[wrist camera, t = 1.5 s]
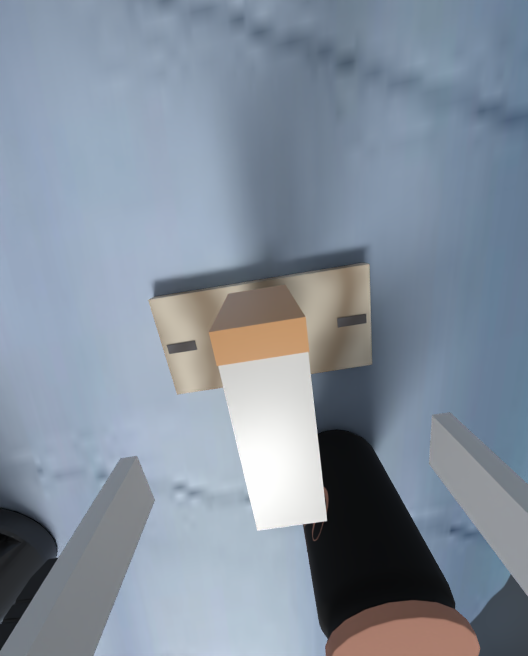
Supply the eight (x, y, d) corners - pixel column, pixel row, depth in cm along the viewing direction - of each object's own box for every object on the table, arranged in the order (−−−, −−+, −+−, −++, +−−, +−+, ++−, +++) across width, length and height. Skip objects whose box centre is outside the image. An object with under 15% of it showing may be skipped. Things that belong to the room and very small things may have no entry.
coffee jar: (296, 424, 33) (338, 618, 16) (379, 426, 34) (503, 616, 17) (289, 487, 37) (318, 703, 20) (364, 488, 37) (456, 699, 20)
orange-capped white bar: (256, 409, 26) (256, 531, 15) (231, 286, 22) (208, 332, 11) (298, 403, 26) (328, 521, 15) (281, 278, 22) (305, 316, 11)
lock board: (180, 387, 31) (165, 417, 26) (153, 296, 28) (130, 310, 22) (366, 358, 31) (389, 383, 25) (363, 262, 27) (389, 268, 22)
